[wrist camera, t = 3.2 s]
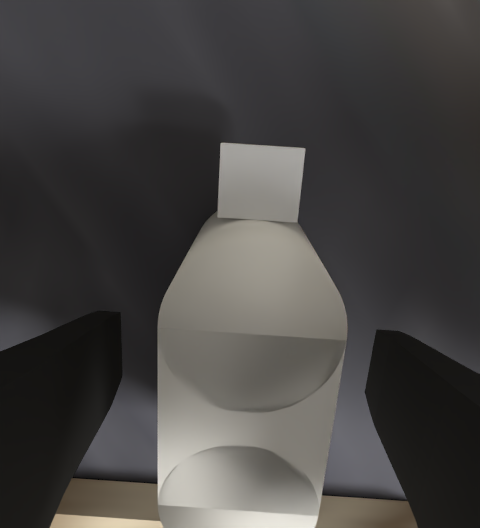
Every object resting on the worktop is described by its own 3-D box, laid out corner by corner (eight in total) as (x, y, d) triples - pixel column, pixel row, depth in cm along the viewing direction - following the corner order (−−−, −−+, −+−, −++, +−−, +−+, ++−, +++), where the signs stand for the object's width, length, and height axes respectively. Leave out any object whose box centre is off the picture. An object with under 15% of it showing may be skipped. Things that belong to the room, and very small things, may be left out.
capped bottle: (322, 148, 11) (377, 155, 6) (289, 426, 14) (308, 573, 9) (196, 140, 11) (156, 140, 6) (188, 419, 14) (157, 562, 9)
